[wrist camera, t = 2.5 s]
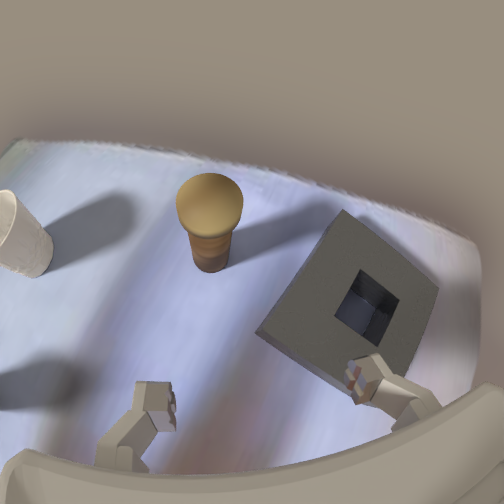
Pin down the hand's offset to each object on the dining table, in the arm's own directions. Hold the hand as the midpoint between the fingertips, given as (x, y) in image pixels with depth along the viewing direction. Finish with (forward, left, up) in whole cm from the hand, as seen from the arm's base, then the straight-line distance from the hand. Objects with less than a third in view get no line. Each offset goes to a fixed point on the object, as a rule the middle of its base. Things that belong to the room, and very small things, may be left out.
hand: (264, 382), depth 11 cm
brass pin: (+9, -8, -17) cm, 21 cm away
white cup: (+28, +7, -17) cm, 34 cm away
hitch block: (-8, -12, -17) cm, 22 cm away
